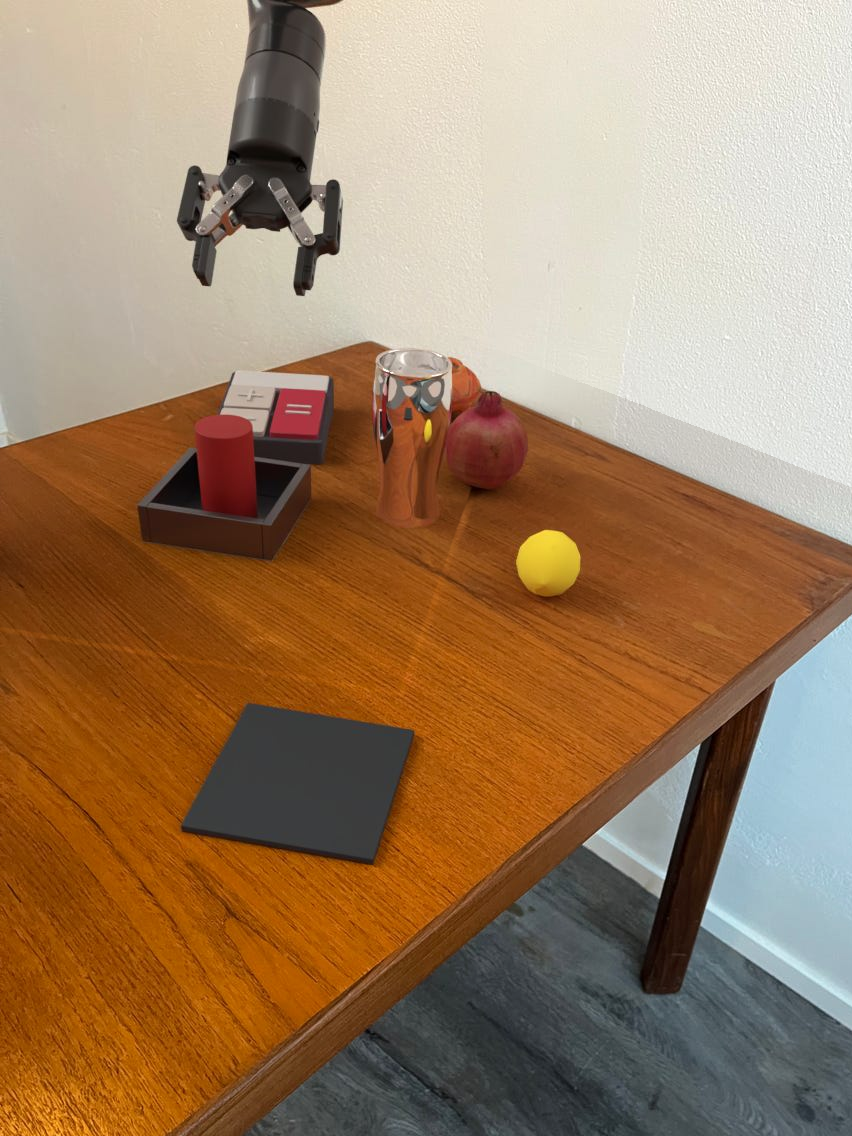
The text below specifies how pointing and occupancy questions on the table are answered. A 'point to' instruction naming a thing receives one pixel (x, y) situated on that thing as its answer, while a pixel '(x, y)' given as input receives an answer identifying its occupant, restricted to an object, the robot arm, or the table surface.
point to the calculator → (283, 413)
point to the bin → (183, 523)
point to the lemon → (548, 563)
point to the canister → (226, 465)
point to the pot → (463, 386)
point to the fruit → (486, 444)
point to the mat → (303, 783)
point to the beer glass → (410, 433)
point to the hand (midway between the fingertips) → (251, 287)
